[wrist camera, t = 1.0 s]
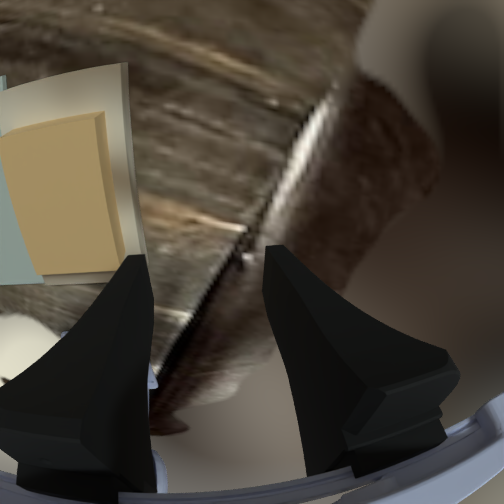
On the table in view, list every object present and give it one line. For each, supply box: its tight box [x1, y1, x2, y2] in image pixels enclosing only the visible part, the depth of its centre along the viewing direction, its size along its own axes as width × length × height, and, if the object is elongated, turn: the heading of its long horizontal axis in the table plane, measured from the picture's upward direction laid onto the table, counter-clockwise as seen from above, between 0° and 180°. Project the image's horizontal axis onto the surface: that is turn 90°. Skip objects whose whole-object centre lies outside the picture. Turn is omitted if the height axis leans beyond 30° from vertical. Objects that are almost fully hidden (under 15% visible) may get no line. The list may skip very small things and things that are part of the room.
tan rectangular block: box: [0, 111, 126, 275], centre depth 16 cm, size 9×6×2 cm, turn 178°
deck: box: [0, 62, 149, 285], centre depth 17 cm, size 14×8×2 cm, turn 178°
